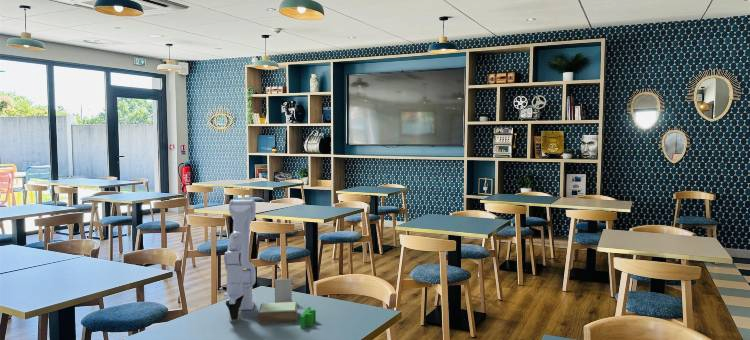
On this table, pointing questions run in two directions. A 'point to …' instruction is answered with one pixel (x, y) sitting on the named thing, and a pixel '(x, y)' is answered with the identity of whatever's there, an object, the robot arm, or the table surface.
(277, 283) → the grey rectangular block
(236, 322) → the grey metal cylinder
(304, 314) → the pipe clamp
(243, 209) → the robot arm
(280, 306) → the walnut stand
